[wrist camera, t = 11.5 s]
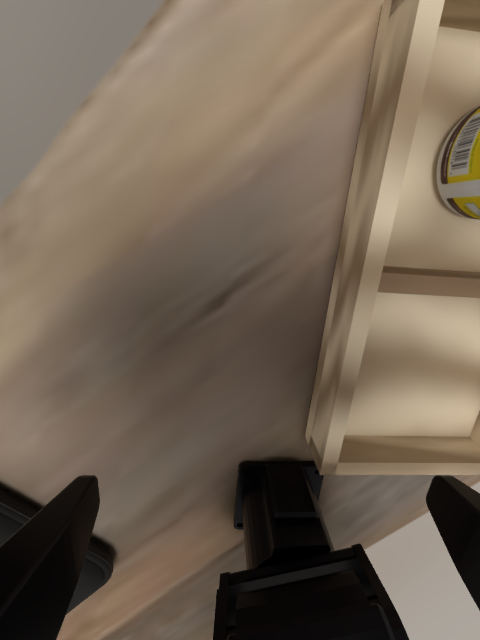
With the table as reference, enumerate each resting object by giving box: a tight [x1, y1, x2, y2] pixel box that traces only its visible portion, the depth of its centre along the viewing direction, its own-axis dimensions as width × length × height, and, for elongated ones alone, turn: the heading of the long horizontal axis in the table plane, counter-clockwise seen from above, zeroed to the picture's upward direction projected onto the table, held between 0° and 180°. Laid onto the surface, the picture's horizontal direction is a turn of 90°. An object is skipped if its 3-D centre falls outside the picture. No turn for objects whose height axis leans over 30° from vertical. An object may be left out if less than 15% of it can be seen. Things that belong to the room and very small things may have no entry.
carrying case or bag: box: [0, 487, 113, 614], centre depth 23 cm, size 11×3×15 cm
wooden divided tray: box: [305, 0, 480, 475], centre depth 18 cm, size 25×13×4 cm, turn 176°
